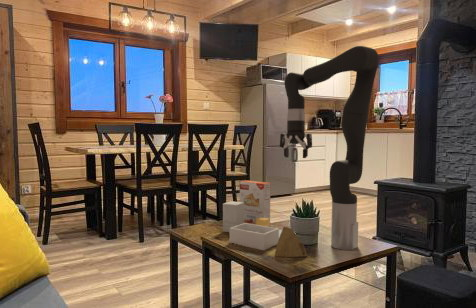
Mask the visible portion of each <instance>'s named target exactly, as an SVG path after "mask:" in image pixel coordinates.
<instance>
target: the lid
mask: <svg viewBox="0 0 476 308" xmlns="http://www.w3.org/2000/svg"><path fill="white" fill-rule="evenodd" d="M256 225H261V226H267V227H271V218H270V219H269V218H262V217H260V218H257V219H256ZM278 229H279V228H278ZM282 230H283V229H279V238H280V234H281V232H282Z"/></svg>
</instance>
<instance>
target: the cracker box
mask: <svg viewBox="0 0 476 308" xmlns="http://www.w3.org/2000/svg"><path fill="white" fill-rule="evenodd" d="M239 202H244V223H249V224H255V225H256V219H257V218H260V217H262V218H269V219H270V220H271V182H264V181H255V180H248V179H247V180H241V181H239Z"/></svg>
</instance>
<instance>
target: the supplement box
mask: <svg viewBox="0 0 476 308" xmlns="http://www.w3.org/2000/svg"><path fill="white" fill-rule="evenodd" d="M243 223H244V202H240V201H233V200H231V201H230V200H229V201H227V202H224V203H222V232H224V233H225V232H226V233H230V228H231V227H234V226H237V225H240V224H243Z"/></svg>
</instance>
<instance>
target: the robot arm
mask: <svg viewBox="0 0 476 308" xmlns="http://www.w3.org/2000/svg"><path fill="white" fill-rule="evenodd" d="M379 59H380V58H379V54H378V52H377V50H376V49H374V48H372V47H368V46H364V45H355V46H353V47H351V48H349V49H347V50H345V51H343V52H342V53H340V54H339V55H337V56H335V57H333V58H331V59H329V60H327V61H324V62H322V63H318V64H316V65H314V66H311V67H308V68H306V69H305V70H304V71H303V73H299V72H294V71H293V72H288V73H287V74H286V76H285V79H284V89H285V92H286V98H287V115H286V122H287V123H286V131H287V132H286V133H280V138H279V148H282V149H283V156H284V158H289V157H290V156H289V155H290V154H289V153H290V152H289V151H290V148H289V147H290V146H291V145H292V144H293V145H294V144H297V145H298V144H299V145H300V146H301V147H302V158H303V159H307V157H308V156H309V154H308V153H309V152H308V151H309V149H312V147H313V137H312V135H313V134H312V133H306V132H305V130H306V112H305V111H306V109H305V104H306V103H305V97H304V96H303V95H301V94H300V92H299V91H303V90H306V89H307V90H308V89H309V88H312V86H314V85H317V84H319V83H320V84H321V83H323V82H326V81H328V80H330V79H331V78H332V77H334V76H335V75H337V74H340V73H345V72H355V73H356V74H355V82H354V85H353V88H352V91H351V93H350V94H349V96H348V98H347V100H346V101H345V104H344V105H343V109H342V116H341V122H340V125H341V130H342V133H343V137H344V139H345V143H346V152H345V153H346V156H345V158H344V160H336V161H334V162H333V163H332V164H331V166H330V169H329V193H330V195H331V235H330V237H331V238H330V239H331V240H330V241H331V242H330V244H331V245H330V246H331V247H332V248H335V249H338V250H343V251H345V250H348V251H354V250H355V249H356V248H358V246H359V222H358V221H357V220H358V219H357V218H358V217H357V215H358V214H357V212H358V210H357V209H358V196H357V195H356V194H355V193H352V192H351V189H350V185H353V184H356V183H358V182H360V180H361V178H362V174H363V170H364V169H363V168H364V165H363V164H364V148H365V140H366V131H367V126H368V120H369V113H370V104H371V99H372V98H371V97H372V93H373V92H372V91H373V86H374V82H375V78H376V74H377V70H378V66H379ZM286 139H287V140H286ZM305 139H306V141H305Z"/></svg>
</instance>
